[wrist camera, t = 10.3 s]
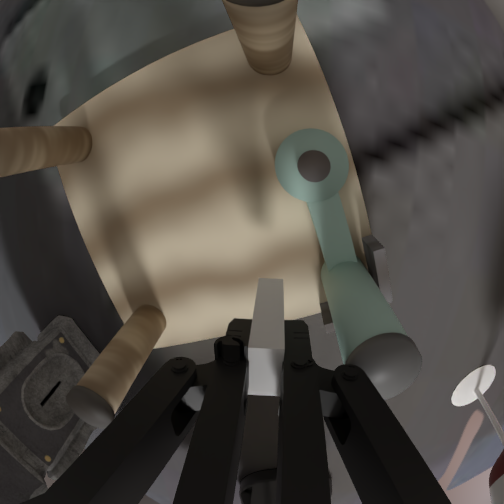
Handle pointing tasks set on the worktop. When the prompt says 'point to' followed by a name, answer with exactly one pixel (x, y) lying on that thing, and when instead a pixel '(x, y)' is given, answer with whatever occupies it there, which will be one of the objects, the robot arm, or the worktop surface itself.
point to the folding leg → (348, 271)
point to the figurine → (40, 407)
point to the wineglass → (469, 390)
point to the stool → (197, 191)
